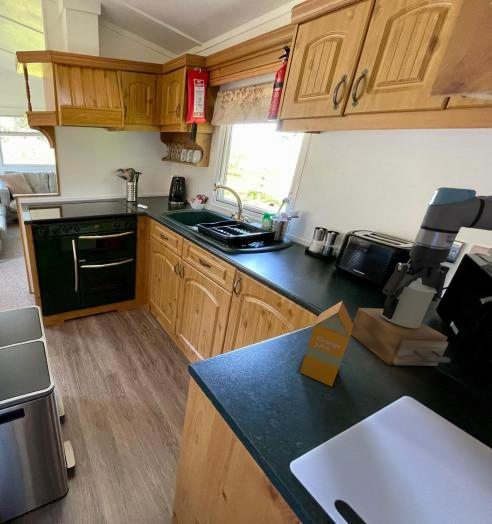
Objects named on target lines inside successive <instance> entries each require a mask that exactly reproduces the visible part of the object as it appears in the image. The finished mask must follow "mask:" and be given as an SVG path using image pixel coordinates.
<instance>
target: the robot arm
mask: <svg viewBox="0 0 492 524" xmlns="http://www.w3.org/2000/svg"><path fill="white" fill-rule="evenodd" d="M462 228H466V229H476V230H482V231H490V232H492V194H491V195H477V191H476V190H475V189H468V188H460V187H459V188H457V187H445V186H443V187H439V188H437V189H436V190H435V191H434V193H433V194H432V196H431V199H430V201H429V203H428V205H427V208H426V210H425V214H424V217H423V219H422V222H421V224H420V227H419V228H418V231H417V233H416V235H415V237H414V242H415V243H413V244H412V246H411V248H410V251H409V255H408V256H409V257H410V258H409V260H408V261H407V262H405V263H402V262H399V261H398V262H397V263H396V265H395V267H394V268H395V269H394V271H392V274H391V276H390V278H389V279H388V281H387V282H386V283H385V285H384V287H383V288H382V290H381V294H383V295H385V296H386V299H385V301H384V305H383V306H384V308H383V309H384V310H383V312H382V315H383V316H385V317H386V318H388V319H392V317H393V314H394V312H395V310H396V307H397V305H398V302H399V299H397V298H398V297H399V296H400V295H401V294H402V292H403V290H404V287H408V286H409V285H410V284H411V283H412V282H413V281H416V282H417V281H418V279H420V280H421V283H422V285H426V286H429V287H431V288H434V289H435V290H436V292H435V294H434V296H433V298H432V300H431V302H430V304H431V303H432V302H437V301H438V299H439V300H440V299H441V298H442V295H443V292H444V287H445V283H446V278H447V275H448V273H449V272H450V269H451V267H450V266H447V265H444V263H446V261H447V259H448V257H449V255H450V252H451V251H450V248H452V247H453V245H454V243H455V241H456V238H457V236H458V234H459V233H460V230H461V229H462ZM394 293H395V294H394Z"/></svg>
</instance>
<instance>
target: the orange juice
mask: <svg viewBox="0 0 492 524" xmlns="http://www.w3.org/2000/svg"><path fill="white" fill-rule="evenodd" d="M352 329H353V322H352V320H351V317H350V314H349V312H348V310H347V308H346V306H345V304H344V302H343V300H341V301H339V302H338V303H336V304H334V305H333V306H331V307H329V308H328V309H326V310H324V311H322V312H320V313H319V315H318V317H317V319H316V321H315V322H314V324H313V327H312V332H311V333H310V338H309V342H308V345H307V347H306V351H305V354H304V359H303V361H302V365H301V368H300V371H299V373H300V374H303V375H305V376H307V377H309V378H312V379H314V380H316V381H318V382H320V383H322V384H325V385H327V386H329V387H332V388H333V385H334V382H335V379H336V377H337V374H338V371H339V369H340V366H341V363H342V361H343V357H344V354H345V352H346V351H347V346H348V344H349V342H350V339H351V336H352V335H351V332H352Z"/></svg>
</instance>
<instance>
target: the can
mask: <svg viewBox="0 0 492 524" xmlns="http://www.w3.org/2000/svg"><path fill="white" fill-rule="evenodd" d="M435 293H437V292H436V290H435V289H434V288H431V287H429V286H426V285H422V282H419V281H417V280H416V281H413V282H412V283H411V284H410V285H409V286H408V287H404V290H403V292H402V294H401V295H400V296H399V297H398V298H397V299H399V302H398V305H397V307H396V310H395V312H394V314H393V317H392V319H388V318H386V317H385V316H383V315H382V313H381V315H382V317H383V318H385V319H386V320H388V321H390V322H392V323H394V324H397V325H400V326H403V327H408V328H419V327H420V326H421V323H423V320H424V318H425V315H426V313H427V311H428V309H429V308H430V305H431V303H432V301H431V300H432V298H433V296H434V294H435ZM394 294H395V293H394ZM430 302H431V303H430Z"/></svg>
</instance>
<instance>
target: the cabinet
mask: <svg viewBox="0 0 492 524" xmlns="http://www.w3.org/2000/svg"><path fill="white" fill-rule="evenodd" d="M383 310H384V308H372V307H371V308H370V307H358V309H357V311H356V314H355V317H354V319H353V322H352V323H353V329H352V332H351V336H352V337H353V338H355V339H356V340H357V341H358V342H360V343H361V344H362V345H363V346H365V347H366V348H367V349H368V350H370V352H372V353H374V354H375V355H376V356H377V357H378V358H379V359H381V360H382V361H383V362H385V364H387V365H389V366H396V365H395V364H394V363H392V362H393V359H394V357H395V355H396V353H397V350H398V348H399V346H400V343H401V341H402V339H431V340H445V341H447V339H448V336H446V335H444V334H442V333H440V332H439V331H438V330H436V329H434V328H432V327H431V326H428V325H427V324H425V323H424V322H421V326H420V327H419V328H408V327H403V326H400V325H397V324H394V323H392V322H390V321H388V320H386V319H385V318H383V317H382V315H381V313H382V312H383Z"/></svg>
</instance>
